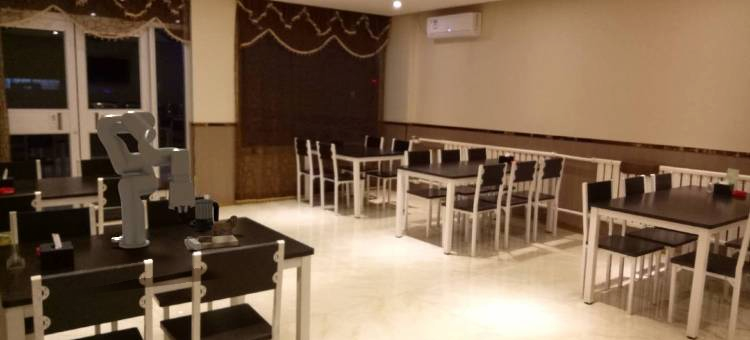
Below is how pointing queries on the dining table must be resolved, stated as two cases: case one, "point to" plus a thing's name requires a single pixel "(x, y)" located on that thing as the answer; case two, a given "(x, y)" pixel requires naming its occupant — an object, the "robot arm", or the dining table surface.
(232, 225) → the lion figurine
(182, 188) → the robot arm
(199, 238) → the grey tray
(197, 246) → the grey lumpy rod
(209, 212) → the milk frother
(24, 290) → the dining table surface
